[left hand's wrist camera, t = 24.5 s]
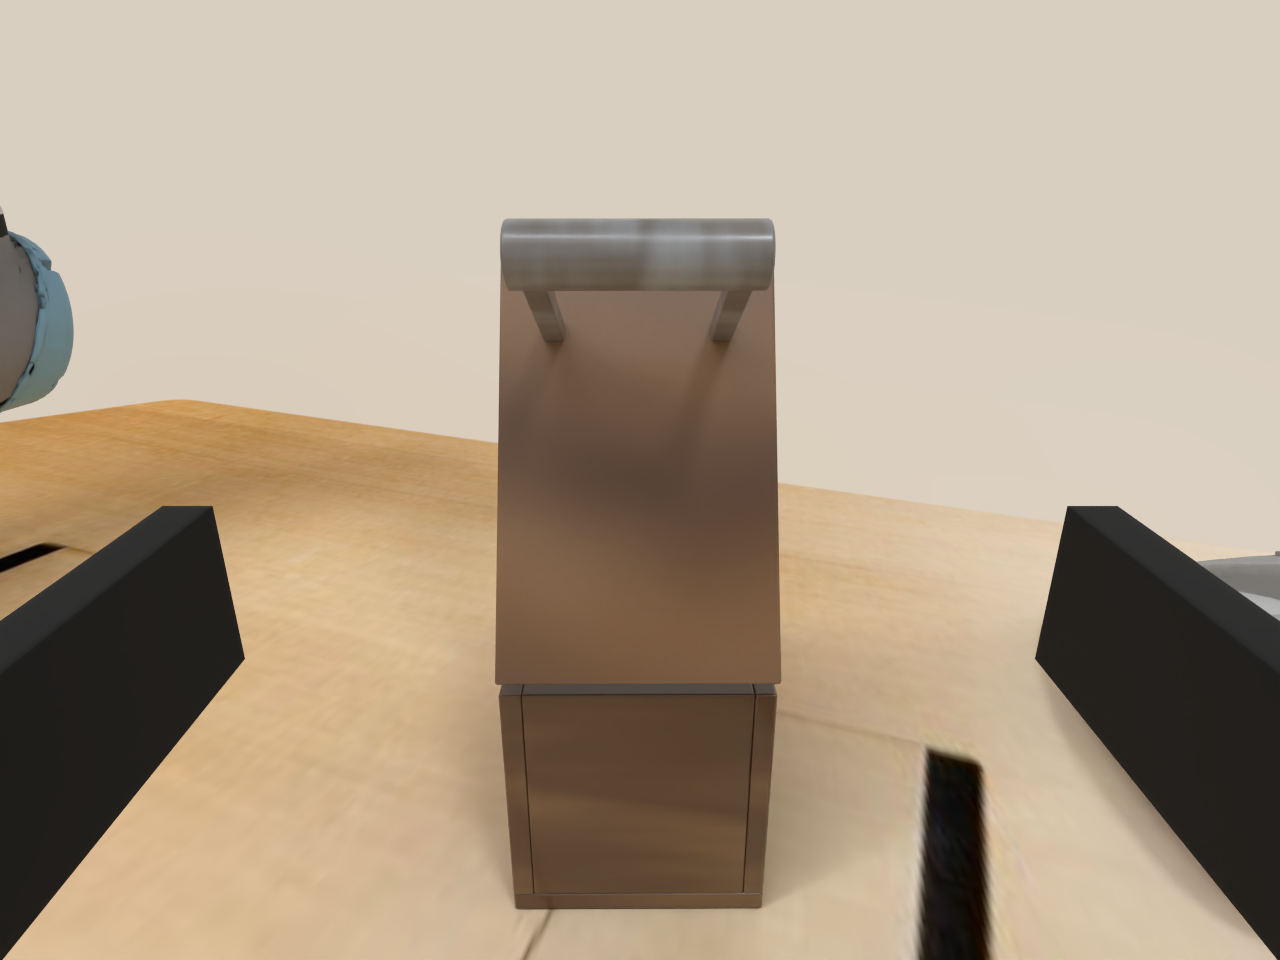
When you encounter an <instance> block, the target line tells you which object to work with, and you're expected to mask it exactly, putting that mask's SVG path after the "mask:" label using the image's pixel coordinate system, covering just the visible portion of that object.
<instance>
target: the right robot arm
mask: <svg viewBox="0 0 1280 960" xmlns="http://www.w3.org/2000/svg"><path fill="white" fill-rule="evenodd" d="M72 347H73V318H72V311H71V306H70V301H69V298H68V294H67V291H66V289H65V286H64V283H63V281H62V279H61V277H60V275H59V274H58V273H57V272H54V271H51V260H50V259H49V257H48V256H47V255H46V254H45V252H44V251H43V250H42V249H41V248H40V247H39V246H37V245H36V244H35V243H34V242H32V241H30V240H29V239H27V238H25V237H23V236H20V235H17V234H15V233H13V232H10V231H8V230H7V227H6V223H5V219H4V215H3V211H2V208H1V207H0V413H1V412H3V411H6V410H9V409H13V408H16V407H19V406H22V405H26V404H29V403H33V402H35V401H37V400H39V399H41V398H43V397H45V396H46V395H47V394H49V393H50V392H51V391H52V390H53V389H54V388H55V386H56V385H57V383H58V380H59V379H60V378H61V377H62V376H63V375H64V373H65V372H66V369H67V367H68V364H69V361H70V357H71V353H72Z"/></svg>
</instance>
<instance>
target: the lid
mask: <svg viewBox="0 0 1280 960" xmlns="http://www.w3.org/2000/svg"><path fill="white" fill-rule="evenodd" d="M500 258H501V292H500V365H499V439H498V512H497V585H496V659H495V683H496V684H497V685H559V684H780V683H781V649H780V592H779V535H778V478H777V420H776V363H775V307H774V266H775V230H774V225H773V222H772V220H770V219H505V220H504V221H503V224H502V227H501V235H500Z"/></svg>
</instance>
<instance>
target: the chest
mask: <svg viewBox="0 0 1280 960" xmlns="http://www.w3.org/2000/svg"><path fill="white" fill-rule="evenodd" d="M499 706H500V719H501V732H502V745H503V758H504V771H505V784H506V797H507V810H508V823H509V836H510V849H511V861H512V874H513V887H514V898H515V907H516V908H759V907H761V905H762V891H763V880H764V866H765V853H766V840H767V826H768V813H769V799H770V786H771V773H772V759H773V746H774V733H775V719H776V706H777V693H776V689H775V686H774V684H559V685H502V686H501V690H500V693H499Z"/></svg>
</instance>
